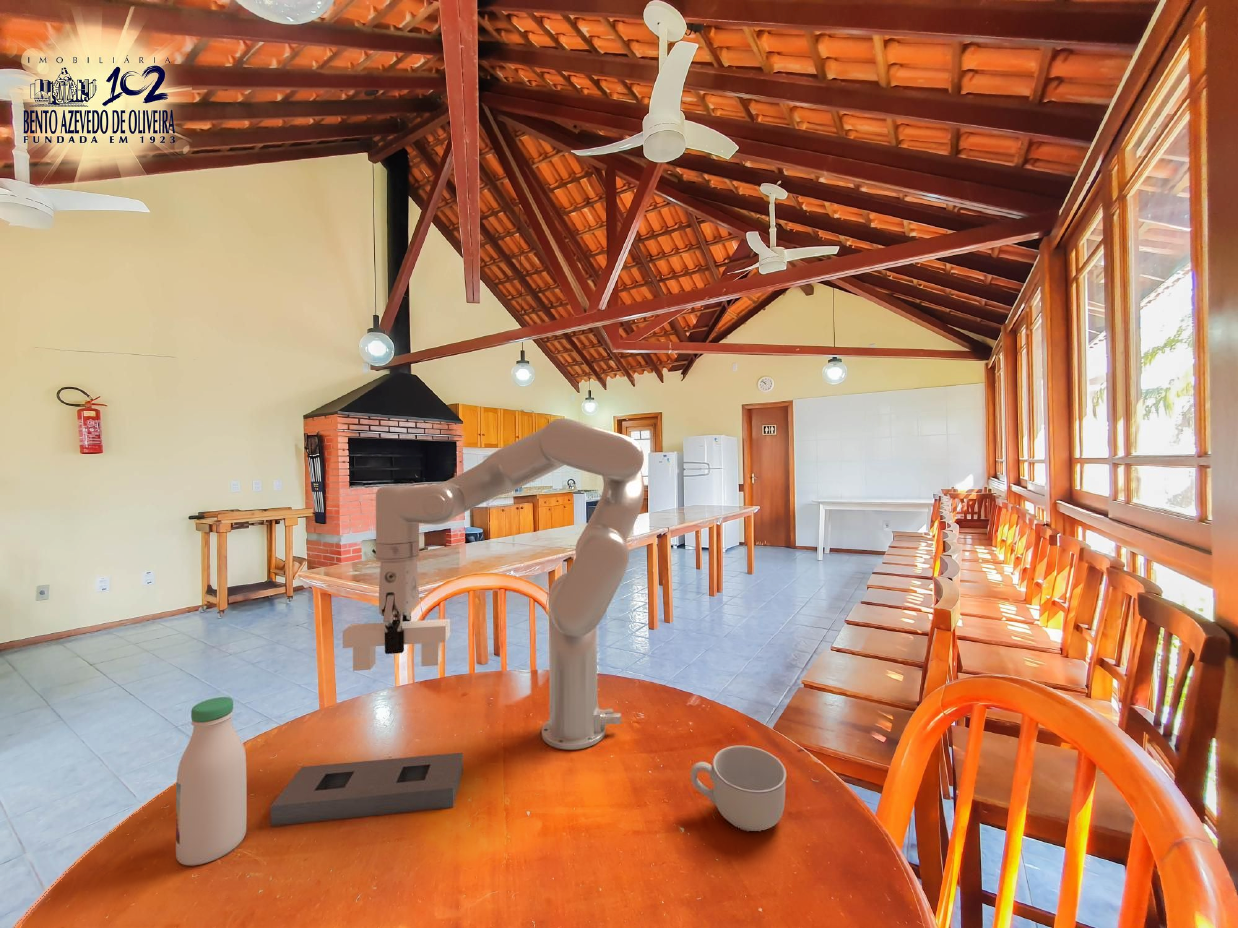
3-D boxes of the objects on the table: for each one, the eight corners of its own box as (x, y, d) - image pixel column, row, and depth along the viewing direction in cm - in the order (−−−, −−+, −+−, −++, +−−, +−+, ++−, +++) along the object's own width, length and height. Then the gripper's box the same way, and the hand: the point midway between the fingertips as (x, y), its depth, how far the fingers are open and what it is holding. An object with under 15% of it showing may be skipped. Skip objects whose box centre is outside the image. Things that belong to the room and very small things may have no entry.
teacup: (787, 802, 79) (786, 751, 80) (786, 852, 69) (785, 793, 69) (698, 785, 84) (698, 736, 84) (685, 829, 74) (685, 774, 74)
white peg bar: (450, 657, 99) (449, 619, 99) (445, 666, 95) (445, 625, 95) (351, 663, 96) (351, 624, 96) (342, 672, 92) (342, 631, 92)
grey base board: (462, 769, 89) (462, 752, 89) (453, 807, 79) (453, 787, 79) (301, 784, 85) (301, 766, 85) (270, 826, 75) (270, 805, 75)
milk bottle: (259, 828, 74) (260, 691, 75) (212, 869, 67) (213, 717, 67) (211, 825, 75) (212, 689, 75) (159, 865, 68) (160, 715, 68)
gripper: (406, 558, 88) (407, 663, 88) (428, 543, 105) (429, 632, 104) (360, 559, 87) (361, 666, 87) (390, 545, 103) (390, 634, 103)
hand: (398, 646), depth 96 cm, fingers closed on white peg bar, 4 cm apart
